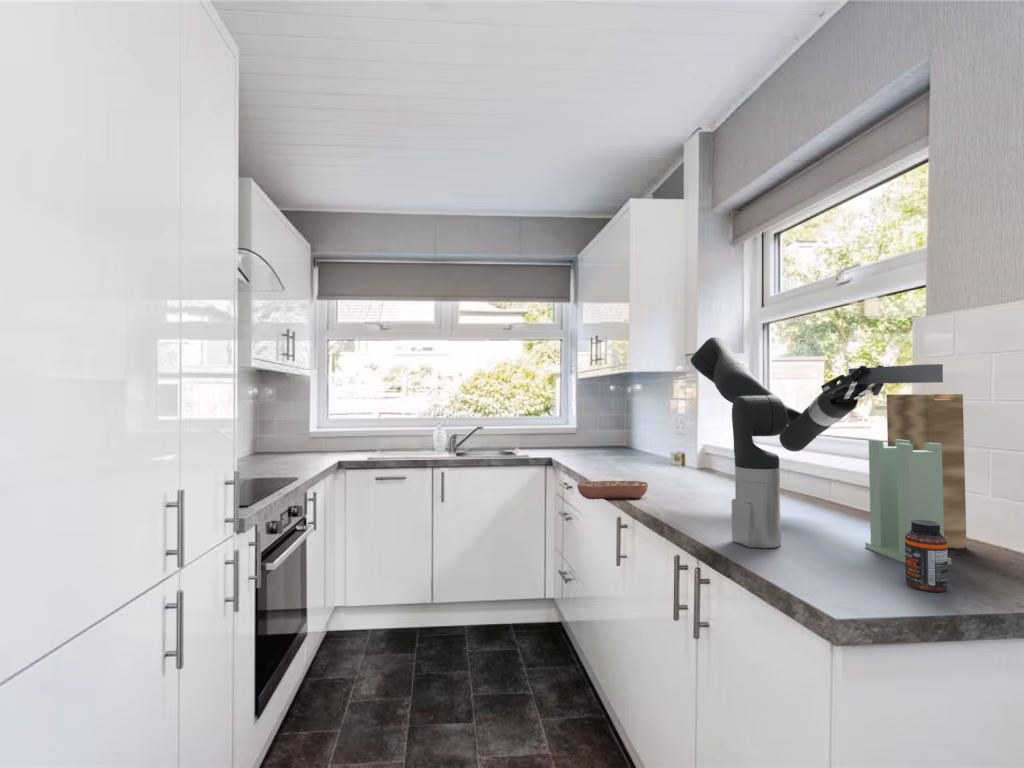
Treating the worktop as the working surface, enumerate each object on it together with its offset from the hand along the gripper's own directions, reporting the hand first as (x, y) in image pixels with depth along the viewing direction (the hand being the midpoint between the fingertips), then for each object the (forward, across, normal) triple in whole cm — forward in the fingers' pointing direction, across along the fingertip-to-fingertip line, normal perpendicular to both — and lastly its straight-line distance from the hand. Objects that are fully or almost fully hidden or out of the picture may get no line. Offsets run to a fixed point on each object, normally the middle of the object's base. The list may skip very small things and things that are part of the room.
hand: (874, 368), depth 123 cm
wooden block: (-21, +13, +33) cm, 41 cm away
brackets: (-12, 0, +38) cm, 40 cm away
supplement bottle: (+3, -11, +47) cm, 48 cm away
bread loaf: (-73, -44, +4) cm, 85 cm away
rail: (+3, 0, +5) cm, 6 cm away
